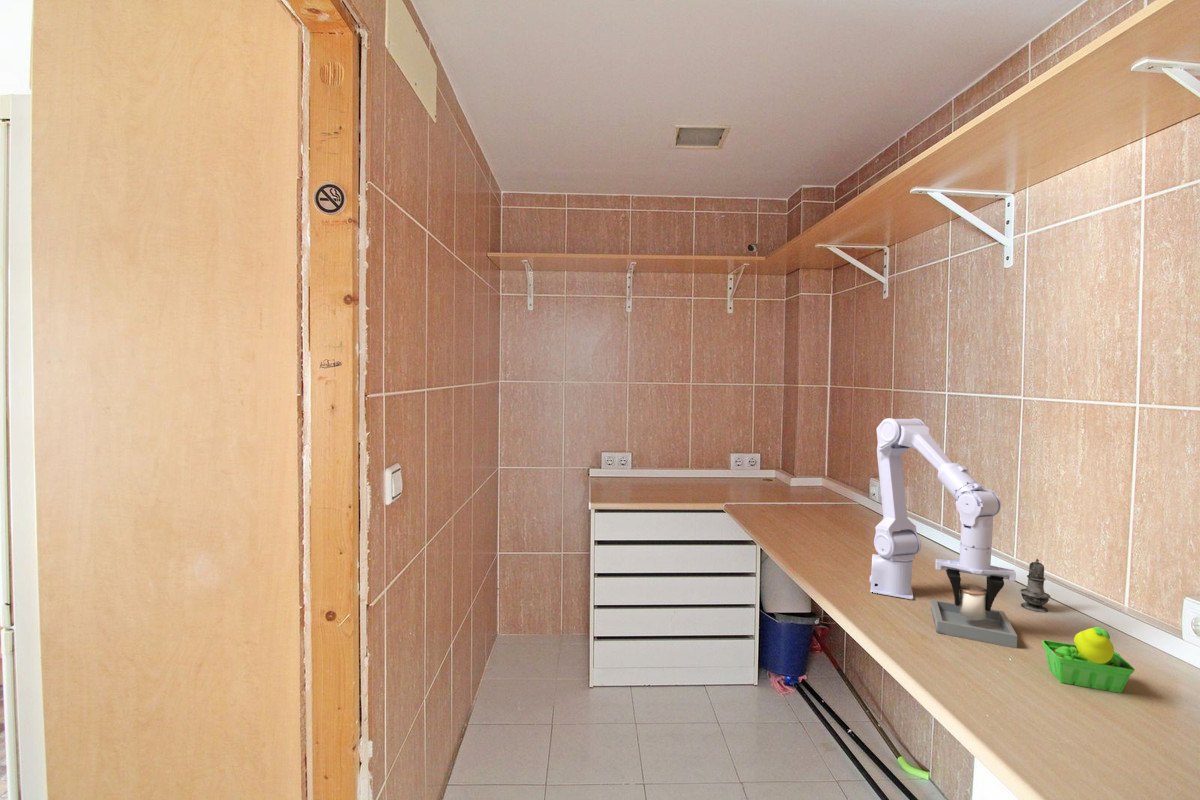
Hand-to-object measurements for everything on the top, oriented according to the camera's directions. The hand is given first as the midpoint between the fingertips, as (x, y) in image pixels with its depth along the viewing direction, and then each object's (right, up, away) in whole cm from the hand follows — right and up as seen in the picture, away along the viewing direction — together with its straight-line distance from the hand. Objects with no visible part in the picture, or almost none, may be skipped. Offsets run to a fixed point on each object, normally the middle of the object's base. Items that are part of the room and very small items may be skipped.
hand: (972, 606), depth 125 cm
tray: (0, -5, 0) cm, 5 cm away
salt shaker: (+23, -5, +12) cm, 27 cm away
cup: (0, -2, 0) cm, 2 cm away
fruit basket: (+6, -6, -22) cm, 24 cm away
